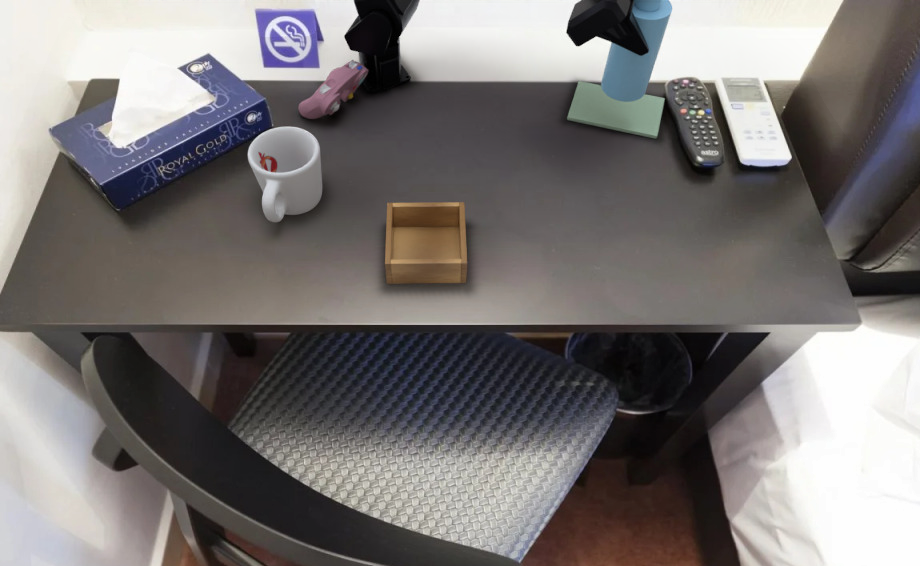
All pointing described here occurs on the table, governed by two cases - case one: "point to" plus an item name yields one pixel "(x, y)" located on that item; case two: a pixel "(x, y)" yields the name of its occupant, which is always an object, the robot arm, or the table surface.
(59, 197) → the table surface
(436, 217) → the open wooden box
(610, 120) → the mat
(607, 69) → the bottle
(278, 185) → the cup
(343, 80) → the pink toy car
